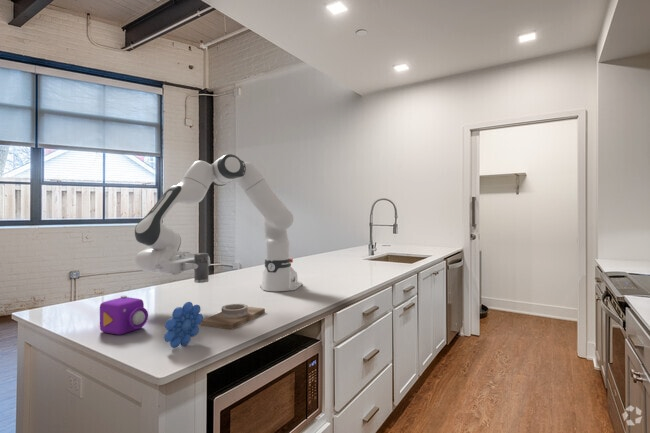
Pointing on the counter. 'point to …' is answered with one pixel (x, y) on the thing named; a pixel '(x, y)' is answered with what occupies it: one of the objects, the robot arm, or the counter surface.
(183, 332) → the blue lumpy cluster
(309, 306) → the counter surface
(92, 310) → the counter surface
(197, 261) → the grey rounded cylinder
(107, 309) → the toy camera
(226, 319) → the mount
